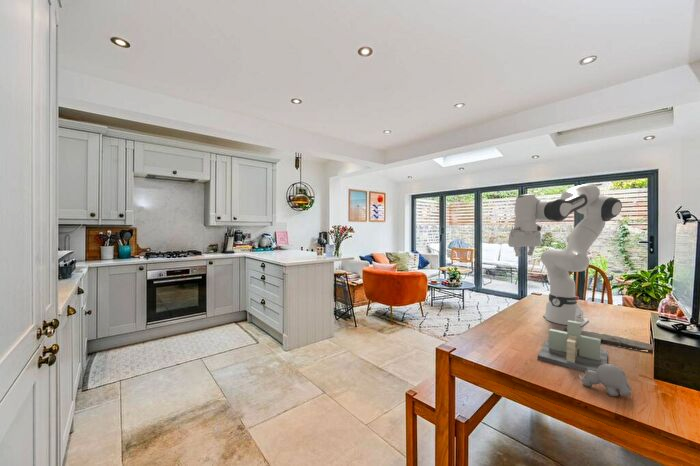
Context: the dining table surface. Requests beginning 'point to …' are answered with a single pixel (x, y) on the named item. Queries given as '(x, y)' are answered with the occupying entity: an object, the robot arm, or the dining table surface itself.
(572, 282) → the robot arm
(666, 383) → the dining table surface
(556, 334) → the sage slotted plate
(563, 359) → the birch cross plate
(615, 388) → the chubby cartoon animal
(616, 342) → the stone slab
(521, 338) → the dining table surface
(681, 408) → the dining table surface
